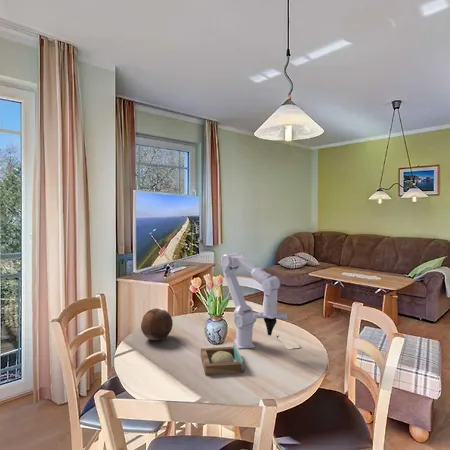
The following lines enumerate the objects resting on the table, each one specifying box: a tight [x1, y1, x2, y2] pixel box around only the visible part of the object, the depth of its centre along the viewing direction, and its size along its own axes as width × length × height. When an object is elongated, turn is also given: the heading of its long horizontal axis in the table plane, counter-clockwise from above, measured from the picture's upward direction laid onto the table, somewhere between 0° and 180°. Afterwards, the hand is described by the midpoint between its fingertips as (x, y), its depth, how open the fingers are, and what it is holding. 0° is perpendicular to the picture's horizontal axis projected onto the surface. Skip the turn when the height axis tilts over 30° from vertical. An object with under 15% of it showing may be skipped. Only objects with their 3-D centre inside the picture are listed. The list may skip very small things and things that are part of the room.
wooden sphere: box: [140, 307, 173, 342], centre depth 160 cm, size 15×15×15 cm
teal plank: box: [232, 344, 245, 373], centre depth 138 cm, size 17×1×4 cm, turn 11°
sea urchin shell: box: [210, 351, 235, 363], centre depth 137 cm, size 9×8×8 cm
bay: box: [200, 346, 242, 376], centre depth 137 cm, size 16×14×4 cm
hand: (269, 334), depth 146 cm, fingers closed
